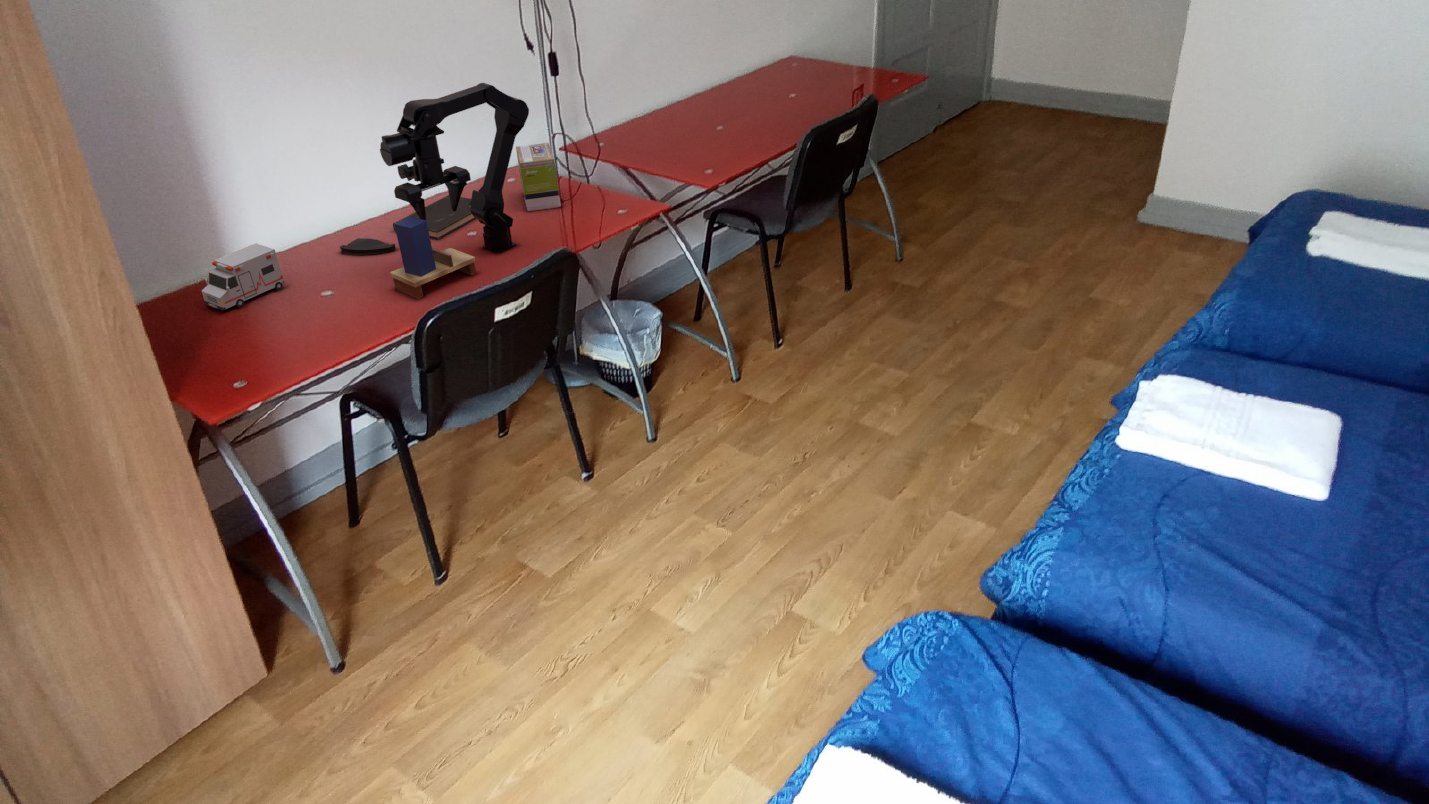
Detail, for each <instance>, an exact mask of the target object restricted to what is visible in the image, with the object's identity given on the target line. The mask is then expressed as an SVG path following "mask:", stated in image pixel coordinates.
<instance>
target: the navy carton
mask: <svg viewBox="0 0 1429 804" xmlns="http://www.w3.org/2000/svg"><path fill="white" fill-rule="evenodd" d="M396 222H397V221H396ZM394 223H395V222H394ZM394 225H395V230H396V231H395V230H394V231H395V234H396V238H397V243H398V247H399V252H400V257H401V261H402V265H403V267H404V270H405V273H409V274H412V275H416V276H420V277H422V276H424V275H426V274H428V273H430V272H432V271H434V270H435V269H436V265H435V260H434V255H433V251H432V248H433V247H432V246H433V245H432V242H431V238H430V236H429V231H428V226H427V221H426V220H421V219H417V218H413V217H408V218H406V219H404V220H402V221H400V222H397V223H395V224H394Z"/></svg>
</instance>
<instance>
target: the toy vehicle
mask: <svg viewBox="0 0 1429 804" xmlns="http://www.w3.org/2000/svg"><path fill="white" fill-rule="evenodd" d="M211 264H212V266H214V267H216V268H213V269H211V270H209V271H208V277H205V278H204V281H205V284H206V286H205V287H204V288H203V289H201V294H202V298H203V304H205V305H208V306H209V307H212V308H215V309H218V310H220V311H225V310H227V309H229V308H232V307H234V306H236V307H238V308H243V306H244V305H245V301H248V300H249V299H252V298H254V297H257V296H259V295H261V294H264V293H265V292H267V291H270V290H273V289H275V290H278V291H281V290H282V289H283V286H284V284H285V279H284V276H283V273H282V269H281V266H280V262H279V260H278V256H277V252H276V249H275V248H272V247H268V246H265V245H263V244H259V243H257V242H255V243H253V244H250V245H248V246H245V247H243V248H241V249H237V250H235V251H233V252H230V253H228V254H226V255H223V256H221V257H218V258H216V259H213V261H212V262H211Z"/></svg>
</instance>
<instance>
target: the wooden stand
mask: <svg viewBox="0 0 1429 804" xmlns="http://www.w3.org/2000/svg"><path fill="white" fill-rule="evenodd" d="M432 251H433V255H434V260H435V265H436V269H435V270H434V271H432V272H430V273H428V274H426V275H424V276H422V277H420V276H416V275H412V274H409V273H405V270H404V266H402V267H399V268H397V269H395V270H393V271H390V272H389V275H390V277H391V278H392V280H393V284H394V289H395V291H399V292H400V293H402V294H405V295H407V296H410V297H412V298H414V299H416V300H419V299H422V298H424V293H423V292H424V291H423V289H422V288H423V287H422V285H424V284H427V283H430V282H432V281H435V280H436V279H439V278H440V277H443V276H446V275H448V274H449V273H453V272H455V271H459V272H461V273H464V274H467V275H469V276H474V275H476V274H477V270H476V263H475V262H476V260H477V259H476V256H473V255H471V254H468V253H466V252H462V251H460V250H458V249H454V248H452V247H448V248H446V249H443V250H440V249H437V248H434V247H432Z"/></svg>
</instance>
